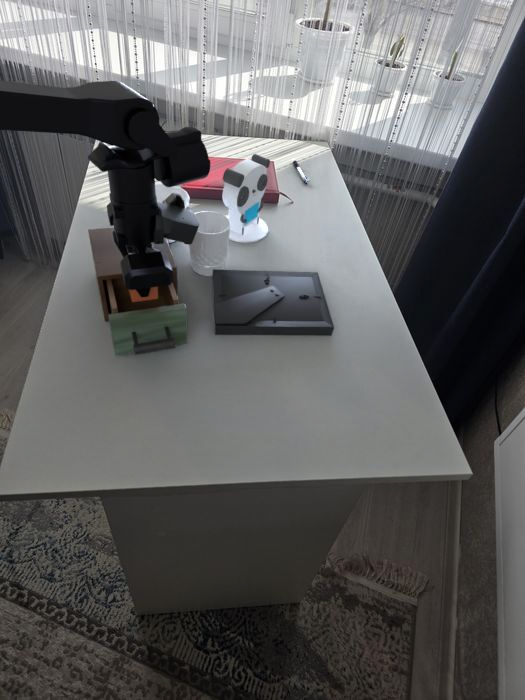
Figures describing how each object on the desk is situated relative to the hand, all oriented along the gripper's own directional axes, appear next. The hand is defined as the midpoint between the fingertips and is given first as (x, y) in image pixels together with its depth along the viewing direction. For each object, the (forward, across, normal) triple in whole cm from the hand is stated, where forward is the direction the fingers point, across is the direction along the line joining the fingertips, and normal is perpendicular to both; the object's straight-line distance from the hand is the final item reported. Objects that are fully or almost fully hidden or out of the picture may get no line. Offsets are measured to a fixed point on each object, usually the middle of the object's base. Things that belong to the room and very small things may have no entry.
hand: (142, 287), depth 72 cm
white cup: (+10, +16, -15) cm, 24 cm away
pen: (+10, +51, -50) cm, 73 cm away
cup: (+10, +28, -9) cm, 31 cm away
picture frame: (+10, +2, -23) cm, 25 cm away
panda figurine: (+10, +28, -26) cm, 39 cm away
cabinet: (+10, +11, 0) cm, 15 cm away
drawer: (+9, -1, 0) cm, 9 cm away
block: (+1, 0, 0) cm, 1 cm away
